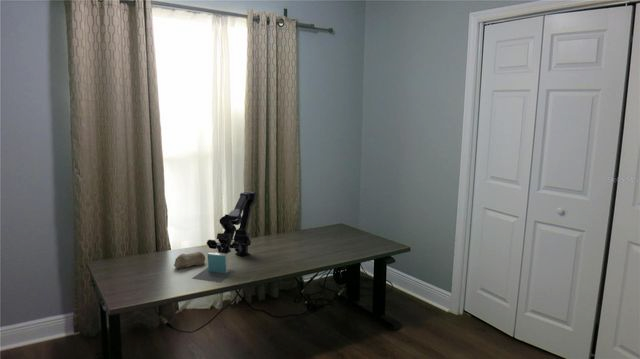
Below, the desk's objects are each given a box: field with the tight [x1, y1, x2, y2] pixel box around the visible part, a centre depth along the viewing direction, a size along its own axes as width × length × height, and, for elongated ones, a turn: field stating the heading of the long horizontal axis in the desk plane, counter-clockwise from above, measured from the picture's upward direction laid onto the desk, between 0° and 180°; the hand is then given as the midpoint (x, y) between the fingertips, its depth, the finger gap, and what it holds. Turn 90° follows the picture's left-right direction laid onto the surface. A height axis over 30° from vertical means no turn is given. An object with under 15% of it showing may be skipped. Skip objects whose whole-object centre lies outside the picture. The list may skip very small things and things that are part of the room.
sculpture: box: [173, 251, 206, 270], centre depth 244 cm, size 9×17×10 cm
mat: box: [191, 267, 236, 283], centre depth 233 cm, size 18×16×1 cm
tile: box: [207, 251, 229, 274], centre depth 236 cm, size 3×10×10 cm, turn 76°
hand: (219, 259), depth 237 cm, fingers closed
